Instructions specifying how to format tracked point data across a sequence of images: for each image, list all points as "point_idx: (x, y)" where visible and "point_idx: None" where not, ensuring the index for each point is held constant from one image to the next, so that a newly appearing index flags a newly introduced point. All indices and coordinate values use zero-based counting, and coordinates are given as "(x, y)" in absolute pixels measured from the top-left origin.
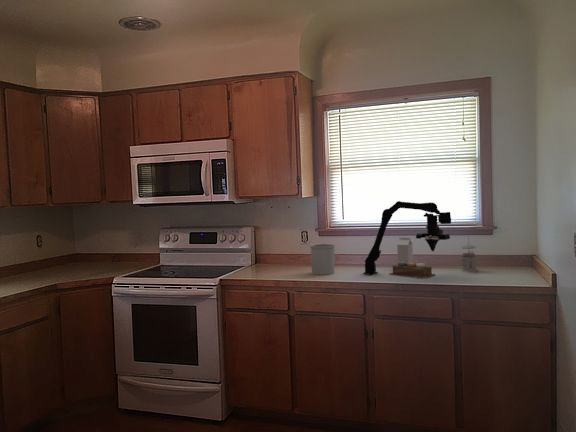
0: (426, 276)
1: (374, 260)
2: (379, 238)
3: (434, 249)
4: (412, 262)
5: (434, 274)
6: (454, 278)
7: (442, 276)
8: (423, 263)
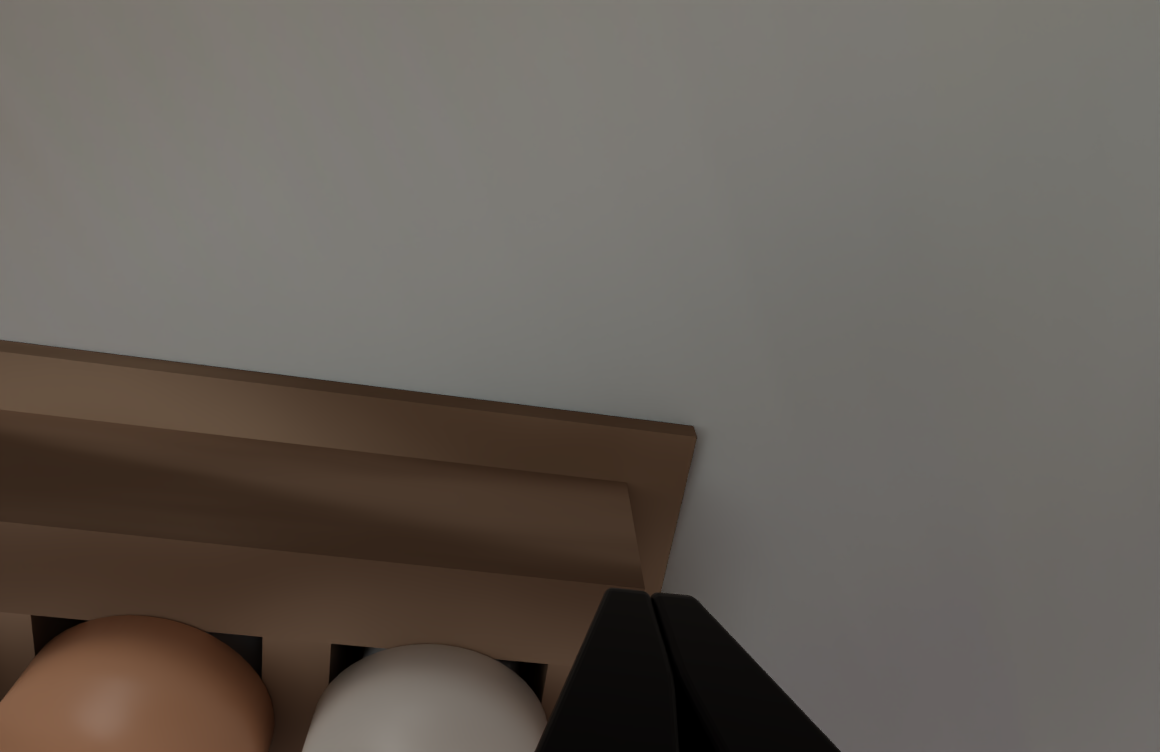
0: None
1: None
2: None
3: (743, 663)
4: (55, 684)
5: (688, 471)
6: (1124, 574)
7: (868, 488)
8: (444, 718)
